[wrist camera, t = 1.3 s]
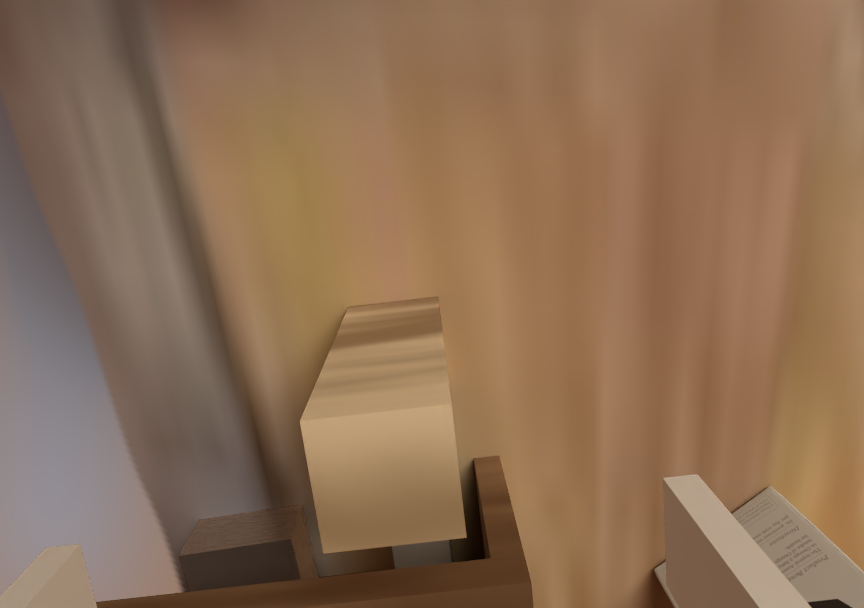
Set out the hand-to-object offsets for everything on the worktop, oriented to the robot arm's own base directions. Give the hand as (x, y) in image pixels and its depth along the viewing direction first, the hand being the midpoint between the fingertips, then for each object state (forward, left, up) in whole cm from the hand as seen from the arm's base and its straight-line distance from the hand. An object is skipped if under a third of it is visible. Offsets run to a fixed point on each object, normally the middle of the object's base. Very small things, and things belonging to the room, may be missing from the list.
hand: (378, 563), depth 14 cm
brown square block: (+10, -8, -15) cm, 20 cm away
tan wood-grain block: (+6, 0, -15) cm, 16 cm away
